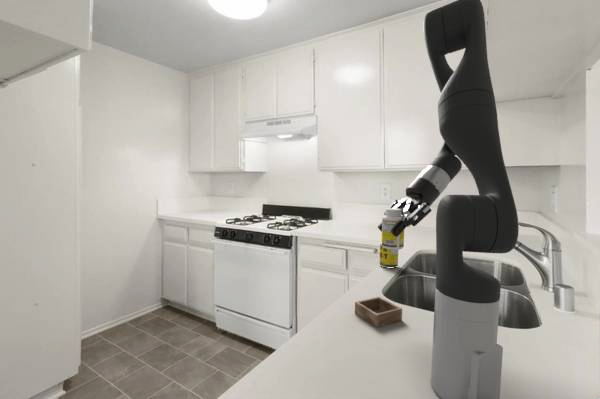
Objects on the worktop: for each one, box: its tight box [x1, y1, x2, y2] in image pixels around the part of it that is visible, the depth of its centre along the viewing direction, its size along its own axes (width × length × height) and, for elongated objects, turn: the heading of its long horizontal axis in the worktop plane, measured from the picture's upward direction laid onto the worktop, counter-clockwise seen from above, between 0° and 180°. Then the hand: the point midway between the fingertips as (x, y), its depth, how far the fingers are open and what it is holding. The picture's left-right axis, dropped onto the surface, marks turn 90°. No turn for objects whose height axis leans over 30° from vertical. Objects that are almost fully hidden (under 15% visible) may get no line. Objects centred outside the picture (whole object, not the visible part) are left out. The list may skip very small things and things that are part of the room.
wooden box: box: [354, 296, 403, 328], centre depth 76 cm, size 8×8×3 cm
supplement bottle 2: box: [379, 241, 399, 268], centre depth 120 cm, size 7×7×13 cm
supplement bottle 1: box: [381, 207, 405, 251], centre depth 77 cm, size 6×6×10 cm
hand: (386, 231), depth 76 cm, fingers closed on supplement bottle 1, 5 cm apart
